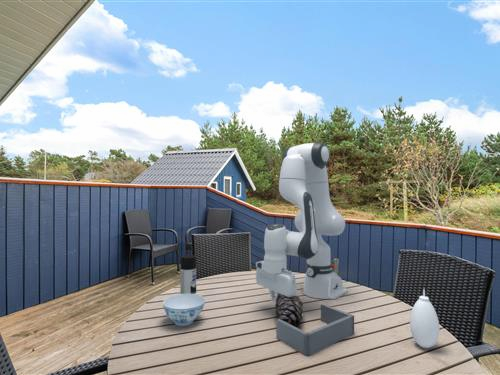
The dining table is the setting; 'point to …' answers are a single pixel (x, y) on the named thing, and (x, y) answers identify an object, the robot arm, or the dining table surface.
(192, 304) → the chinaware
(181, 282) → the spray can
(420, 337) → the sauce bottle
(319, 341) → the box
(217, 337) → the dining table surface
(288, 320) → the pine cone
